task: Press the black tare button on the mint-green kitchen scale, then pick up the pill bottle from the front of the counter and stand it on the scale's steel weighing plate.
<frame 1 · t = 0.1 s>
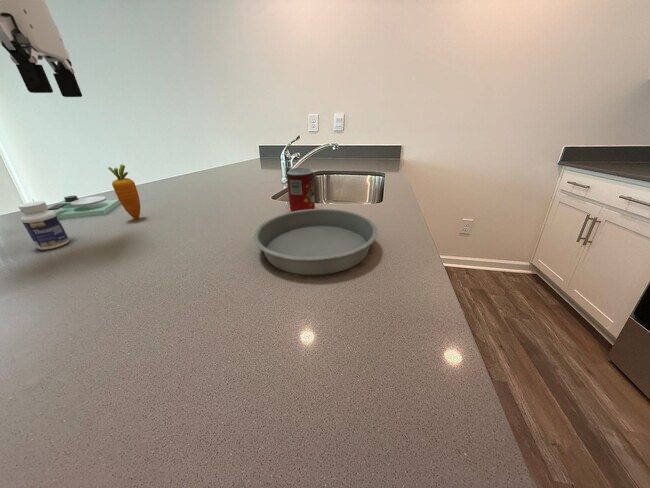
hand: (58, 94, 48), 30 cm above the counter, tool pointing down, fingers open, 9 cm apart
pill bottle: (55, 245, 59), on the counter
weighing plate: (89, 202, 79), resting on scale
carrot: (137, 220, 72), on the counter
tare button: (71, 199, 81), point 3 cm above the counter, slide at 0.1 cm
cake pan: (316, 248, 54), on the counter
scale: (87, 211, 81), on the counter
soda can: (302, 214, 73), on the counter
scale display: (57, 207, 75), resting on scale
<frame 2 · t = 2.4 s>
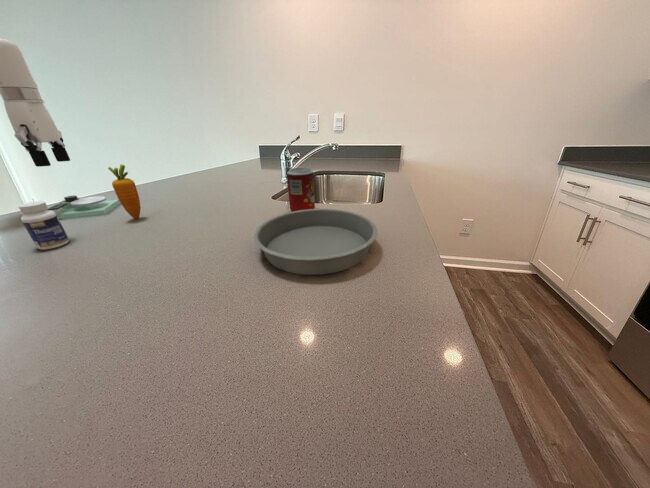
hand: (54, 163, 76), 14 cm above the counter, tool pointing down, fingers open, 9 cm apart
nothing on the counter moved.
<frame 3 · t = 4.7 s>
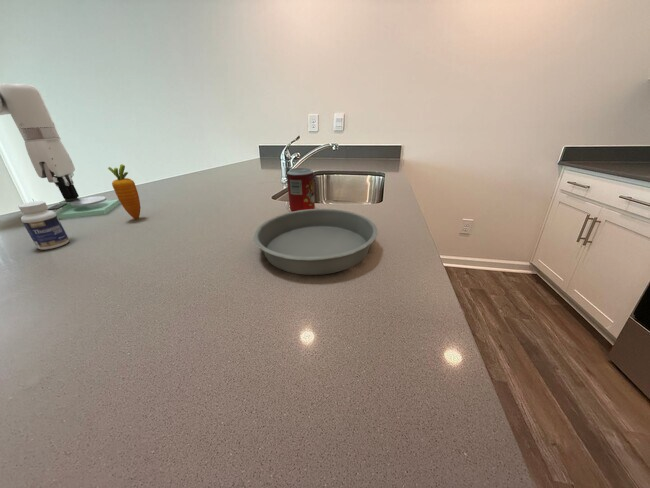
hand: (71, 197, 81), 4 cm above the counter, tool pointing down, fingers closed
tare button: (72, 200, 81), point 3 cm above the counter, slide at -0.3 cm, touching gripper
everything else where it was.
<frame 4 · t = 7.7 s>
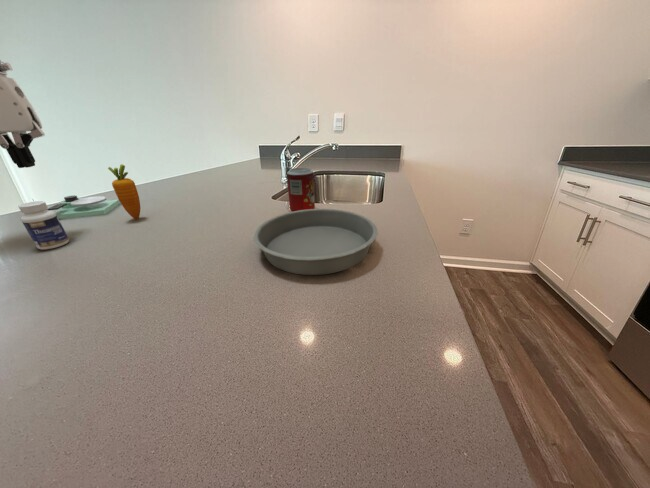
hand: (27, 166, 58), 16 cm above the counter, tool pointing down, fingers closed
tare button: (71, 199, 81), point 3 cm above the counter, slide at 0.1 cm
everything else where it was.
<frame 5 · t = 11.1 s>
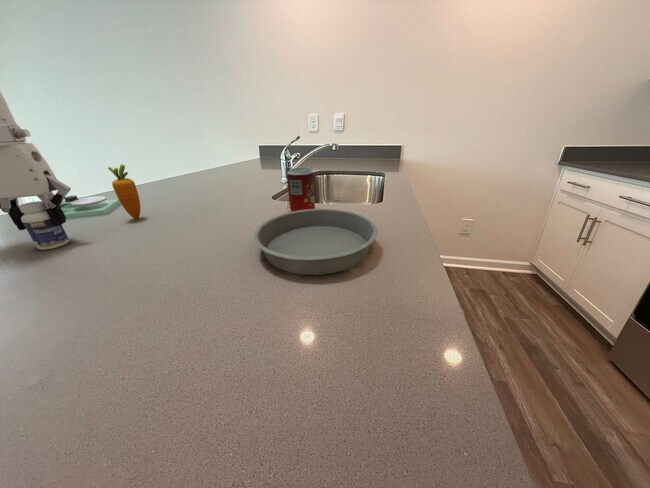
hand: (43, 225, 56), 5 cm above the counter, tool pointing down, fingers closed on pill bottle, 5 cm apart
pill bottle: (54, 245, 59), on the counter, touching gripper
everything else where it was.
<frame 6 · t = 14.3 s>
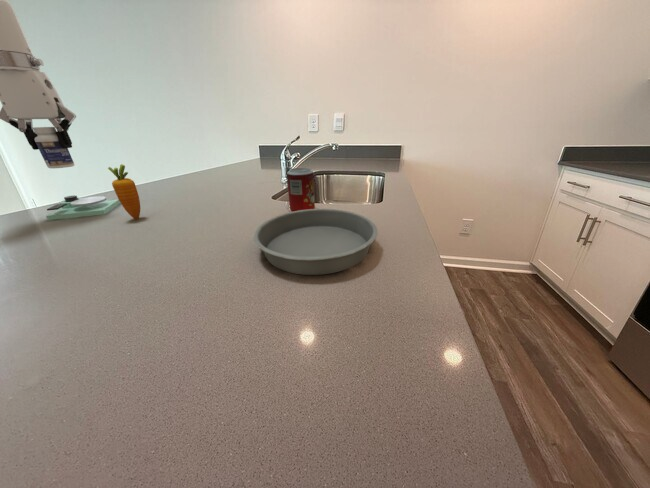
hand: (53, 147, 67), 19 cm above the counter, tool pointing down, fingers closed on pill bottle, 5 cm apart
pill bottle: (62, 167, 69), point 14 cm above the counter, touching gripper
everything else where it was.
when the fingers open (8 cm above the counter, at t = 17.8 s): pill bottle stays where it is, resting on weighing plate.
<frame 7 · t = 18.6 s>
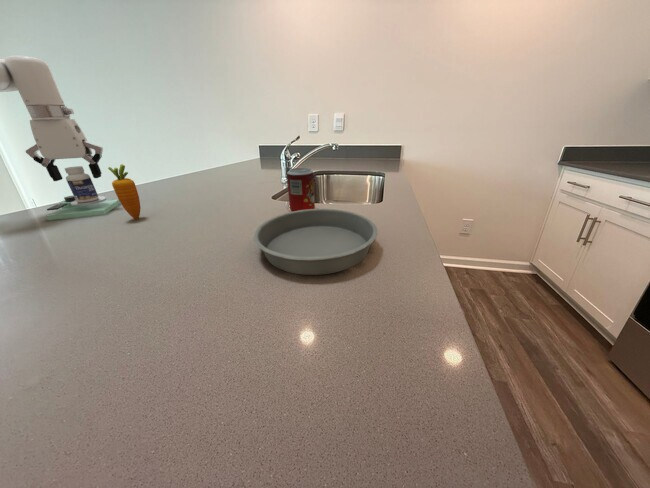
hand: (78, 178, 76), 10 cm above the counter, tool pointing down, fingers open, 9 cm apart
pill bottle: (88, 200, 79), point 3 cm above the counter, touching weighing plate
everything else where it was.
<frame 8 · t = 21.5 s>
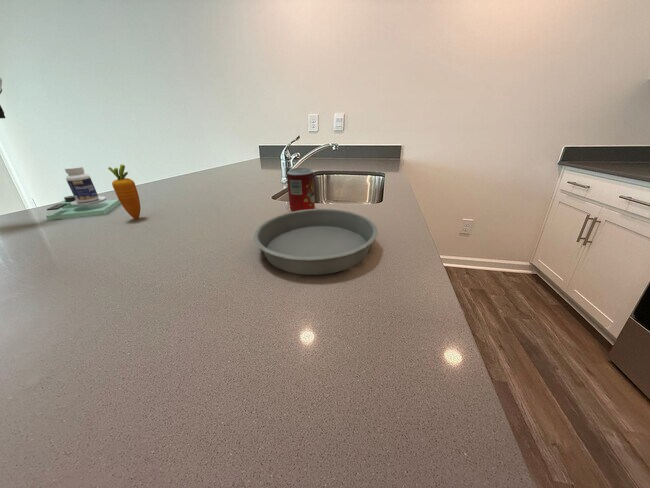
nothing on the counter moved.
at the end: tare button pushed in 0.9 cm at the most during the clip, back to where it started at the end; pill bottle inside the target area on the scale (0.1 cm from its centre), point 3.4 cm above the scale's base; pill bottle tilted 0° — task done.
